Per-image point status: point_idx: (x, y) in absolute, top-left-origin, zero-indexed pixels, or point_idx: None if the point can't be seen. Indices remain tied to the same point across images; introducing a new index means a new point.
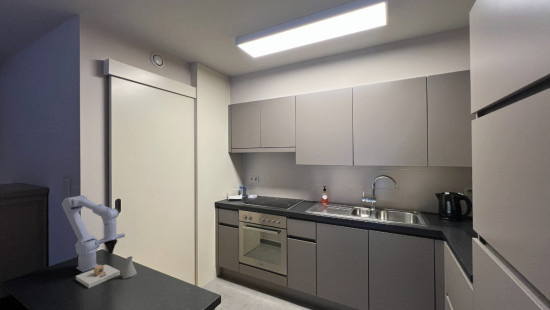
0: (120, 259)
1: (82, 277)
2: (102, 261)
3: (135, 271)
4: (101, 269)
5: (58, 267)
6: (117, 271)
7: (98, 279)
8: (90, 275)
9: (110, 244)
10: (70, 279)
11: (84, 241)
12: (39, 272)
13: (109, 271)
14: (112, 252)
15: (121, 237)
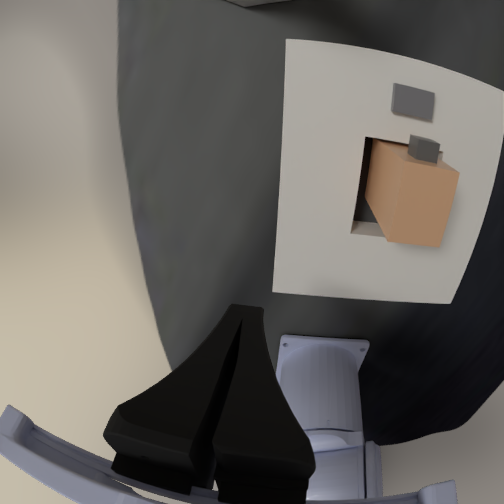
0: (162, 301)
1: (464, 243)
2: None
3: None
4: (428, 142)
5: None
6: (303, 50)
7: (456, 81)
8: None
9: (254, 425)
10: (441, 315)
11: None
12: (395, 438)
13: (340, 126)
14: (235, 307)
15: (45, 431)
